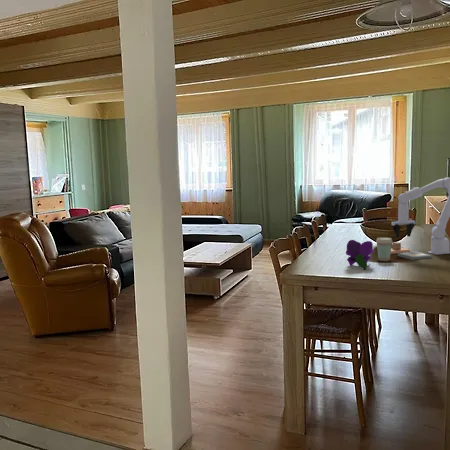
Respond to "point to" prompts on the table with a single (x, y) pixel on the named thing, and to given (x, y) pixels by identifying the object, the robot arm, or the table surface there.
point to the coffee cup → (384, 248)
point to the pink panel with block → (398, 248)
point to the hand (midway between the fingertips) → (403, 236)
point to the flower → (359, 253)
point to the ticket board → (414, 255)
